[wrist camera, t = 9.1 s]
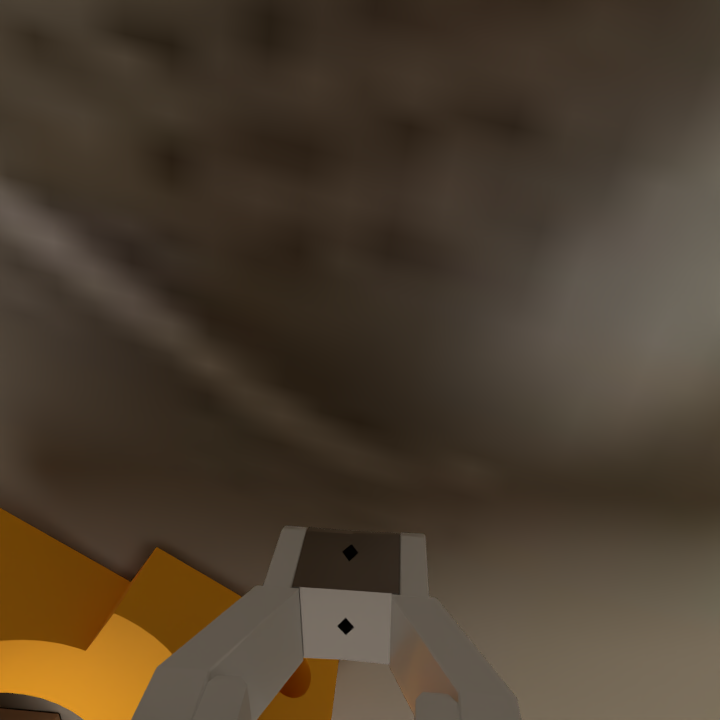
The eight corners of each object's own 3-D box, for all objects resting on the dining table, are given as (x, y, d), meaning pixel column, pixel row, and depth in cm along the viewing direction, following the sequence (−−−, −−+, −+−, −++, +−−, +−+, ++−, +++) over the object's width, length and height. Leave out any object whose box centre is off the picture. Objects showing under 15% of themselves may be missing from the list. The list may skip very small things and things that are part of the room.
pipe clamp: (340, 648, 15) (300, 962, 9) (267, 714, 17) (192, 1022, 11) (-18, 438, 13) (-362, 661, 7) (-63, 535, 15) (-380, 786, 9)
